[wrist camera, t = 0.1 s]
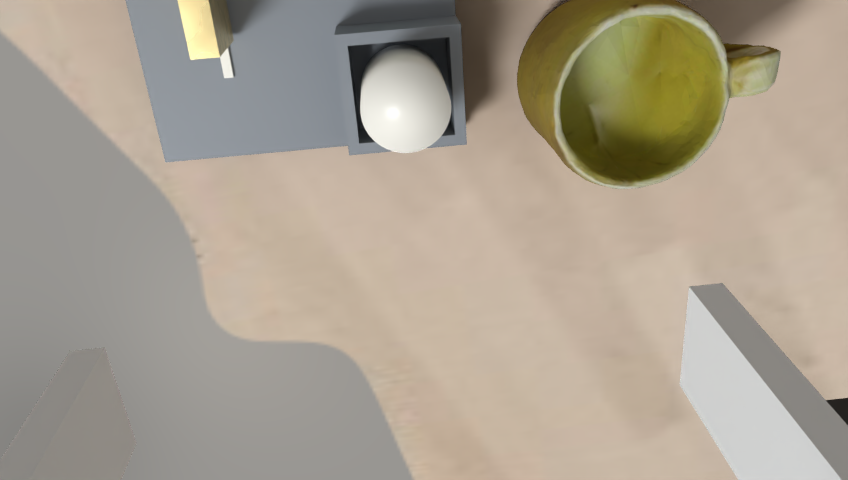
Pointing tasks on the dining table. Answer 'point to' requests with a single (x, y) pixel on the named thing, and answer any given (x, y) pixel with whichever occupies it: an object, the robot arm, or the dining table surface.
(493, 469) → the dining table surface
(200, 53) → the grey and tan piece
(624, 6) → the mug
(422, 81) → the button
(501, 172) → the dining table surface
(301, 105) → the board
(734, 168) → the dining table surface
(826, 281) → the dining table surface
